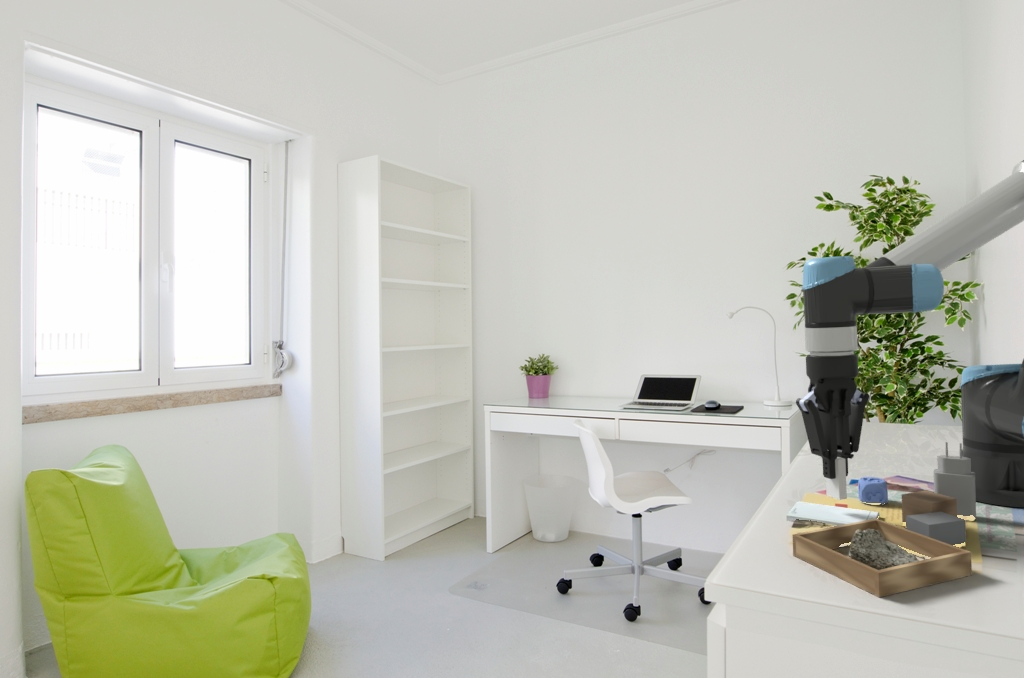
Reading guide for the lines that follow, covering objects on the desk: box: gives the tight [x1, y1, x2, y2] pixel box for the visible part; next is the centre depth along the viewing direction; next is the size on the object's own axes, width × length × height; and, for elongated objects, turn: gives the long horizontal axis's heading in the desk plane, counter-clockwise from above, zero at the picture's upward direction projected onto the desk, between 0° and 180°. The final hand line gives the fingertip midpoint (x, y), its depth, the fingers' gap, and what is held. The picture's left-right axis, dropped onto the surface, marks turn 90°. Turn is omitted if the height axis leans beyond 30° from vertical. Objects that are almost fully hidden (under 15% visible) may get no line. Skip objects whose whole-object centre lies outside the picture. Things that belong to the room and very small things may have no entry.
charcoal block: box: [905, 512, 967, 545], centre depth 90 cm, size 6×4×4 cm, turn 100°
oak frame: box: [792, 518, 973, 598], centre depth 84 cm, size 15×14×3 cm
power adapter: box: [933, 441, 977, 519], centre depth 100 cm, size 3×5×12 cm, turn 53°
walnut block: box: [901, 489, 957, 522], centre depth 96 cm, size 5×5×5 cm
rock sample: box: [846, 529, 921, 570], centre depth 82 cm, size 10×8×9 cm
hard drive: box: [786, 501, 880, 526], centre depth 102 cm, size 2×8×12 cm
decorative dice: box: [857, 476, 889, 504], centre depth 109 cm, size 4×4×4 cm
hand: (836, 496), depth 102 cm, fingers closed
